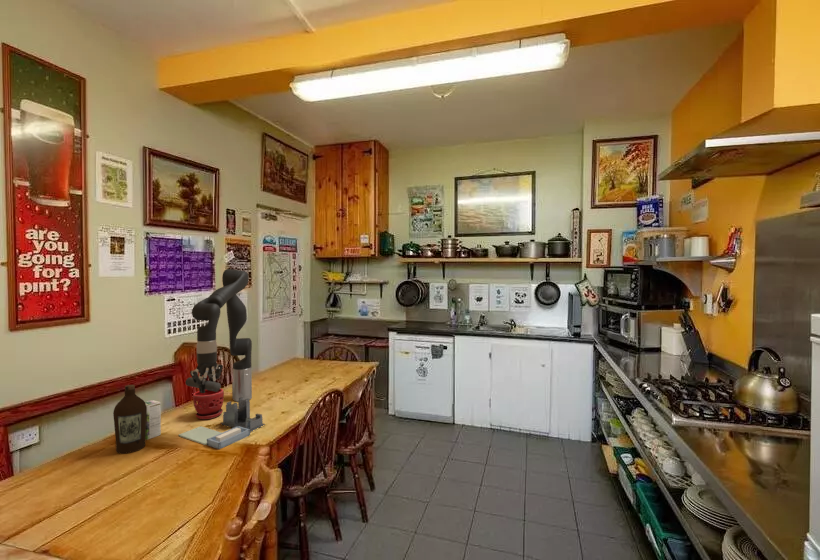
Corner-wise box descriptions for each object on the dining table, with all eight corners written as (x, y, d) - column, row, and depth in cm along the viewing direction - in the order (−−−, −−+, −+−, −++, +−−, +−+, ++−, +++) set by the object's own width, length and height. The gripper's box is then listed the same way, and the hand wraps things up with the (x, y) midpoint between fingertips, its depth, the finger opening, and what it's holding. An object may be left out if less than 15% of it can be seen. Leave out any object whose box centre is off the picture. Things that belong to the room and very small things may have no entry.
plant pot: (229, 411, 191) (229, 387, 191) (213, 421, 178) (213, 396, 178) (204, 410, 193) (204, 386, 192) (187, 420, 180) (186, 395, 179)
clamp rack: (220, 424, 175) (220, 401, 175) (236, 418, 182) (236, 395, 182) (249, 432, 166) (249, 408, 166) (264, 425, 174) (264, 402, 173)
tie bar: (215, 443, 155) (215, 436, 155) (237, 433, 164) (236, 427, 164) (219, 444, 154) (219, 438, 154) (241, 434, 163) (241, 428, 163)
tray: (206, 445, 154) (206, 439, 154) (238, 431, 167) (238, 426, 167) (219, 449, 151) (219, 443, 151) (250, 435, 164) (250, 429, 164)
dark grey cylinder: (185, 386, 165) (185, 378, 165) (193, 384, 168) (193, 376, 168) (212, 392, 157) (212, 384, 157) (220, 390, 160) (220, 381, 160)
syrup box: (139, 437, 162) (138, 403, 161) (154, 432, 167) (153, 399, 166) (146, 440, 159) (146, 405, 159) (161, 434, 164) (161, 401, 164)
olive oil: (115, 446, 153) (114, 384, 153) (147, 440, 159) (146, 380, 158) (112, 457, 144) (111, 391, 144) (147, 450, 150) (145, 386, 150)
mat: (178, 436, 163) (178, 434, 163) (200, 427, 172) (200, 426, 172) (205, 445, 154) (205, 443, 154) (227, 435, 163) (227, 434, 163)
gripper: (196, 355, 153) (197, 397, 153) (227, 348, 166) (228, 388, 166) (184, 353, 156) (185, 395, 157) (216, 347, 169) (216, 385, 169)
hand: (207, 391), depth 161 cm, fingers closed on dark grey cylinder, 3 cm apart
